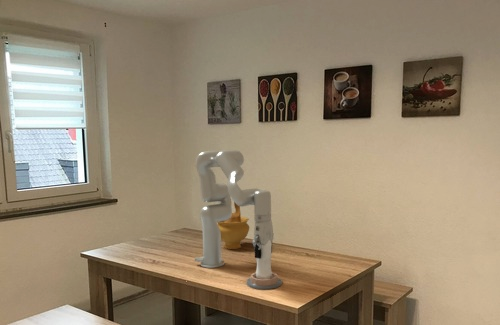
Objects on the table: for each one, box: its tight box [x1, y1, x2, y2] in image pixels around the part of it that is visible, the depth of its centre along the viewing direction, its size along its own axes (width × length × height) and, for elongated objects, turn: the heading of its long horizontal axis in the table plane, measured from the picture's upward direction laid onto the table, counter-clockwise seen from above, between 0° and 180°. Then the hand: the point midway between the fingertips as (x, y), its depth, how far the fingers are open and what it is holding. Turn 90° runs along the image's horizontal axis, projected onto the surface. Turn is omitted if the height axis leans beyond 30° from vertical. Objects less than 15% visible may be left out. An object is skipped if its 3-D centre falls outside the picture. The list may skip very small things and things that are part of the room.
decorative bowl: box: [217, 201, 250, 250], centre depth 246 cm, size 21×21×30 cm
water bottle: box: [255, 240, 273, 279], centre depth 181 cm, size 7×7×25 cm
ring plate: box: [246, 271, 283, 291], centre depth 181 cm, size 16×16×4 cm
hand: (263, 255), depth 181 cm, fingers open, 9 cm apart
